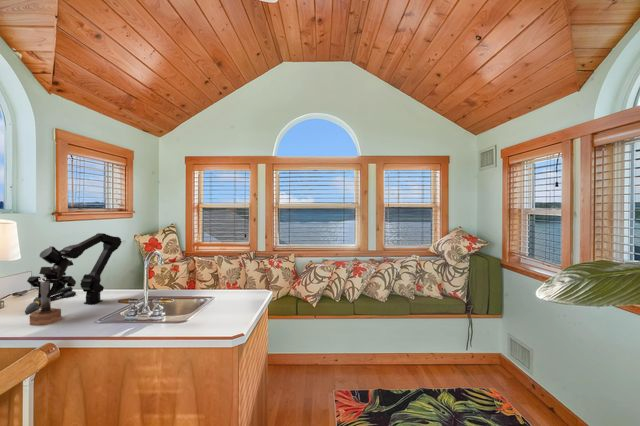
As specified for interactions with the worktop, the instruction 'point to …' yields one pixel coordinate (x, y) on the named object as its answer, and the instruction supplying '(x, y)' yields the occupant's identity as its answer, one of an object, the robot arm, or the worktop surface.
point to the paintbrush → (33, 305)
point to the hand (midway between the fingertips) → (43, 297)
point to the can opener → (64, 293)
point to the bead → (45, 317)
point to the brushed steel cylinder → (45, 295)
